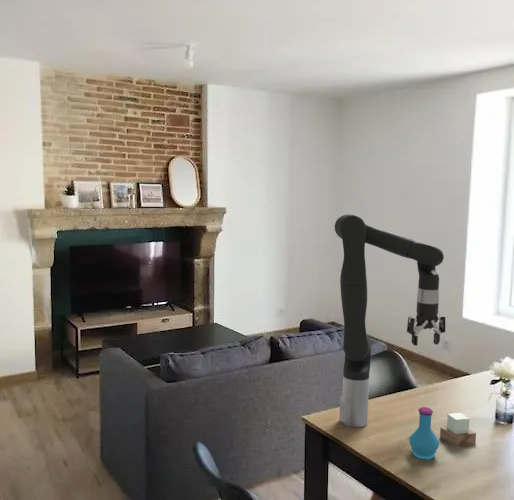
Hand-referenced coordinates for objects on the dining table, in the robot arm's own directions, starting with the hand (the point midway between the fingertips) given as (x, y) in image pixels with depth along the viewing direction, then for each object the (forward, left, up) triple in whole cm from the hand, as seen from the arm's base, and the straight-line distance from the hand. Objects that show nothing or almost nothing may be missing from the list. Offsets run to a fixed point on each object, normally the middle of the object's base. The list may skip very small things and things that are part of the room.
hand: (425, 344), depth 203 cm
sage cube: (+2, -19, -24) cm, 31 cm away
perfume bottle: (-14, -25, -28) cm, 41 cm away
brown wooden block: (+2, -19, -28) cm, 34 cm away
